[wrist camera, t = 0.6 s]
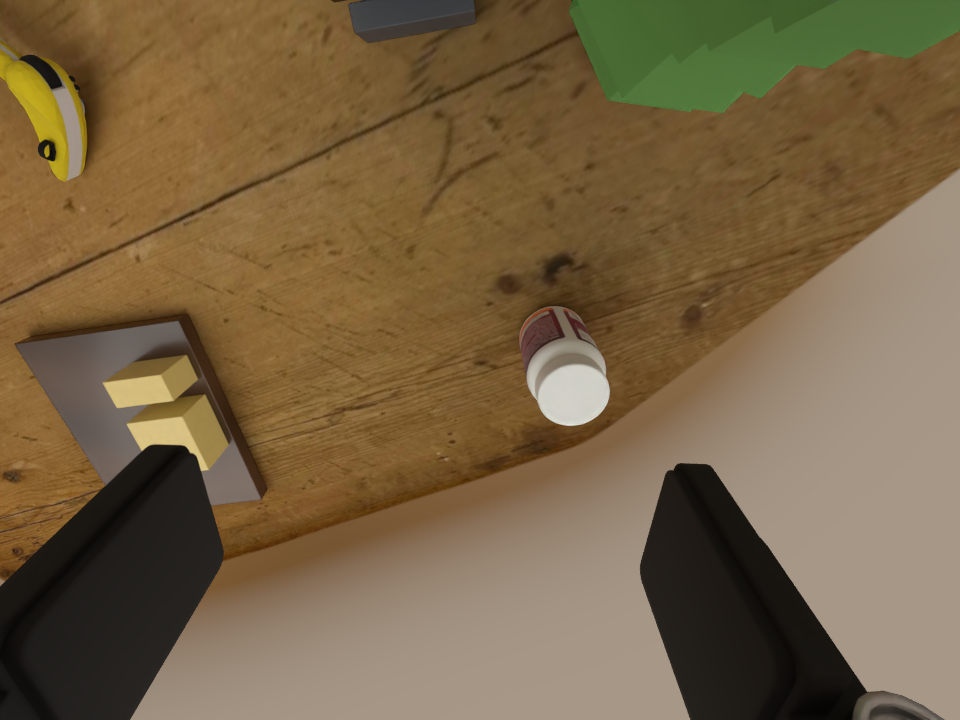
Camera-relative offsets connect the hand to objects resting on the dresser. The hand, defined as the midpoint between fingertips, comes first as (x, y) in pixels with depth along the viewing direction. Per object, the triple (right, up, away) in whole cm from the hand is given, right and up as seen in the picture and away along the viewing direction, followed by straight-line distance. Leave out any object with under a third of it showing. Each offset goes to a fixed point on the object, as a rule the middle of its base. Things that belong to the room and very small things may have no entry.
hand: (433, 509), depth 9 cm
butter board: (-24, -2, +27) cm, 36 cm away
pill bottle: (+6, +5, +24) cm, 25 cm away
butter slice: (-21, +2, +24) cm, 32 cm away
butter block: (-21, -2, +26) cm, 33 cm away
